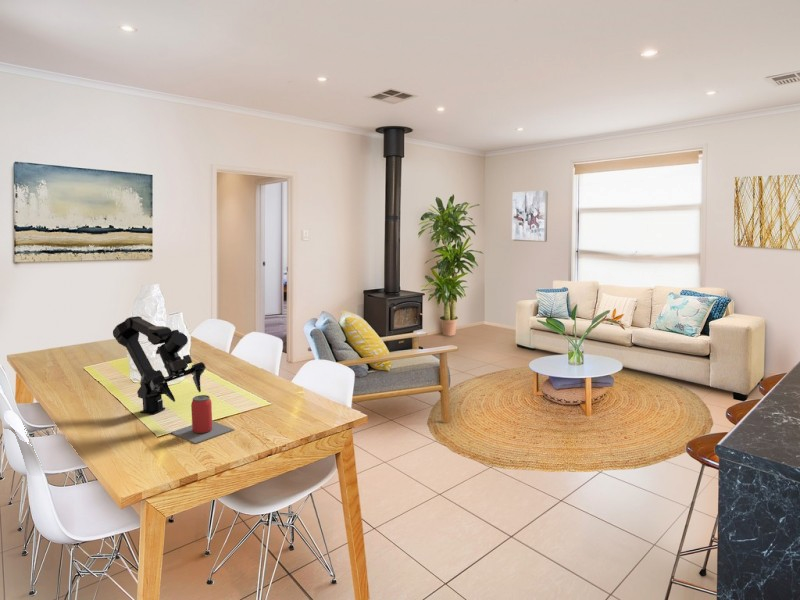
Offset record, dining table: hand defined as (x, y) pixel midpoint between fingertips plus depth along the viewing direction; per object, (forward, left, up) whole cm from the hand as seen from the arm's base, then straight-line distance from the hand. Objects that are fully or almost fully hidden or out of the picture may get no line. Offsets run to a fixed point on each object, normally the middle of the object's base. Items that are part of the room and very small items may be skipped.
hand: (187, 396), depth 185 cm
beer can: (+9, -4, -10) cm, 14 cm away
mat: (+9, -4, -11) cm, 14 cm away
